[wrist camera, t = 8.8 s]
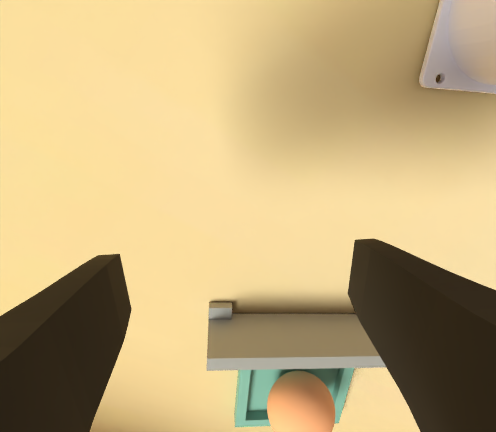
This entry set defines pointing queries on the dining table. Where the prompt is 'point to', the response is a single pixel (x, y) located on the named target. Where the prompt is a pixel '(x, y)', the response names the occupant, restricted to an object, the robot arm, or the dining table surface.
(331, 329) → the wall
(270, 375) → the coaster
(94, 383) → the robot arm
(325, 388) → the ball
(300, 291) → the dining table surface
